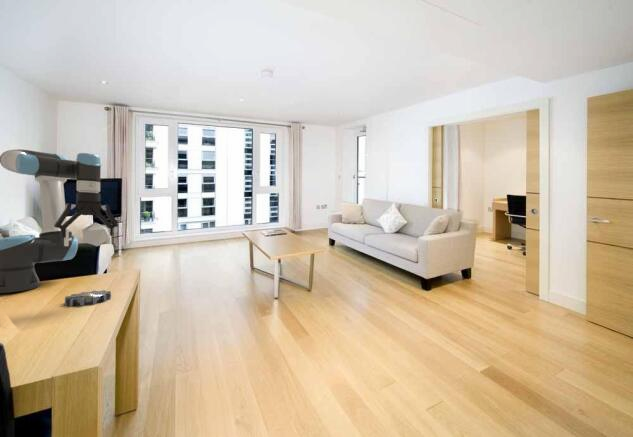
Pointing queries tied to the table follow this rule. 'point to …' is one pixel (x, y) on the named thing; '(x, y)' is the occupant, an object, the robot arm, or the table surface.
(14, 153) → the robot arm
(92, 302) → the gear plate
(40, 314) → the table surface
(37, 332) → the table surface
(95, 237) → the die
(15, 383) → the table surface
